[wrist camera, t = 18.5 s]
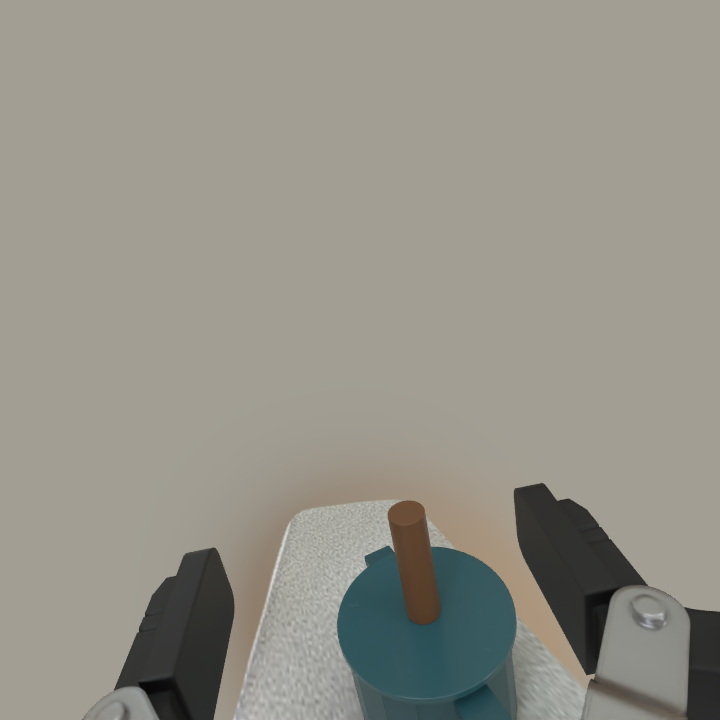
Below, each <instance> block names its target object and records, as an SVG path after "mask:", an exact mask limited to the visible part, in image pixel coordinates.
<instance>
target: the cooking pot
mask: <svg viewBox="0 0 720 720" xmlns="http://www.w3.org/2000/svg"><path fill="white" fill-rule="evenodd" d="M392 553H394V552H393V550H392V549H391V548H390V546H386V547H384V548H382V549H380V550H378V551H375V552H373V553H371V554H369V555H366V556H365V562H366V565H367V567H369V566H370V565H372V564H373V563H375V562H376V561H378V560H379V559H381V558H383V557H385V556H387V555H390V554H392ZM351 671H352V669H351ZM352 674H353V678H354V682H355V686H356V689H357V693H358V697H359V701H360V704H361V708H362V712H363V716H364V720H516V712H517V702H516V692H515V682H514V672H513V662H512V651H511V653H510V655H509V657H508V659H507V660H506V662H505V664H504V666H503V667H502V668H501V669H500V671H499V672H498V673H497V674H496V675H495V676H494V677H493V678H492V679H491V680H490V681H489V682H488V683H487V684H485V685H484V686H482V687H481V688H479V689H478V690H477V691H475V692H473V693H471V694H469V695H467V696H465V697H462V698H459V699H456V700H453V701H450V702H444V703H439V704H425V705H422V704H410V703H405V702H401V701H396V700H394V699H391V698H388V697H386V696H383V695H382V694H380V693H378V692H376V691H374V690H373V689H371V688H370V687H369V686H367V685H366V684H364V683H363V682H362V681H361V680H360V679H359V678H358V677H357V676H356V675H355V674H354V672H353V671H352Z"/></svg>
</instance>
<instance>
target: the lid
mask: <svg viewBox="0 0 720 720" xmlns="http://www.w3.org/2000/svg"><path fill="white" fill-rule="evenodd" d="M388 520H389V525H390V530H391V535H392V540H393V545H394V551H395V553H392V554H390V555H387V556H385V557H383V558H381V559H379V560H378V561H376V562H375V563H373V564H372V565H370V566H369V567H368V568H366V569H365V570H364V571H363V572H362V573H361V574H360V575H359V576H358V577H357V578H356V579H355V580H354V581H353V583H352V584H351V585H350V587H349V588H348V590H347V592H346V593H345V595H344V598H343V600H342V602H341V605H340V609H339V613H338V620H337V633H338V638H339V643H340V647H341V650H342V653H343V656H344V658H345V660H346V662H347V663H348V665H349V667H350V668H351V669H352V671H353V672H354V674H355V675H356V676H357V677H358V678H359V679H360V680H361V681H362V682H363V683H364V684H366V685H367V686H369V687H370V688H371V689H373V690H374V691H376V692H378V693H380V694H382V695H383V696H386V697H388V698H391V699H394V700H396V701H401V702H405V703H410V704H422V705H425V704H439V703H444V702H450V701H453V700H456V699H459V698H462V697H465V696H467V695H469V694H471V693H473V692H475V691H477V690H478V689H479V688H481V687H482V686H484V685H485V684H487V683H488V682H489V681H490V680H491V679H492V678H493V677H494V676H495V675H496V674H497V673H498V672H499V671H500V669H501V668H502V667H503V666H504V664H505V662H506V660H507V659H508V657H509V655H510V653H511V650H512V648H513V645H514V641H515V636H516V614H515V607H514V603H513V600H512V597H511V595H510V593H509V590H508V589H507V587H506V585H505V584H504V582H503V581H502V580H501V579H500V577H499V576H498V575H497V574H496V573H495V572H494V571H493V570H492V569H491V568H490V567H489V566H487V565H486V564H484V563H483V562H482V561H480V560H478V559H477V558H475V557H473V556H471V555H468V554H466V553H464V552H460V551H457V550H454V549H449V548H443V547H431V546H430V540H429V534H428V528H427V521H426V515H425V510H424V507H423V506H422V505H421V504H420V503H418V502H415V501H402V502H399V503H396V504H395V505H393V506H392V507H391V508H390V509H389V511H388Z"/></svg>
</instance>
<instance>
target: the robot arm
mask: <svg viewBox="0 0 720 720" xmlns="http://www.w3.org/2000/svg"><path fill="white" fill-rule="evenodd" d="M514 503H515V515H516V525H517V526H516V527H517V536H518V542H519V546H520V549H521V552H522V555H523V557H524V559H525V561H526V563H527V565H528V567H529V569H530V570H531V572H532V574H533V576H534V578H535V580H536V582H537V584H538V585H539V587H540V589H541V591H542V593H543V595H544V596H545V599H546V600H547V602H548V604H549V606H550V608H551V610H552V612H553V613H554V615H555V617H556V619H557V621H558V622H559V625H560V626H561V628H562V630H563V632H564V634H565V636H566V638H567V639H568V641H569V643H570V645H571V647H572V649H573V651H574V653H575V654H576V656H577V658H578V660H579V662H580V664H581V666H582V668H583V669H584V671H585V673H586V675H590V674H595V673H596V674H595V678H594V680H593V679H591V680H590V682H589V685H588V688H587V693H586V697H585V702H584V707H583V712H582V716H581V720H720V612H716V611H704V610H695V609H690V608H686V607H683V606H682V605H681V604H680V603H679V602H678V601H677V600H676V599H675V598H673V597H672V596H671V595H669V594H667V593H666V592H664V591H661V590H659V589H656V588H653V587H649V586H648V585H647V584H646V583H645V581H644V580H643V579H642V578H641V576H640V575H639V574H638V573H637V571H636V570H635V569H634V568H633V566H632V565H631V564H630V563H629V561H627V559H626V558H625V556H624V555H623V554H622V553H621V552H620V550H619V549H618V548H617V547H616V545H615V544H614V543H613V542H612V540H611V539H609V538H608V536H607V534H606V533H605V532H604V530H603V529H602V528H601V527H599V524H598V523H597V522H596V520H595V519H594V518H593V517H592V516H591V514H590V513H589V512H588V510H587V509H585V508H583V507H582V506H580V505H579V504H577V503H575V502H574V501H572V500H570V499H564V500H560V501H557V500H556V499H555V498H554V496H553V495H552V493H551V492H550V491H549V489H548V488H547V487H546V485H545V484H543V483H540V484H536V485H530V486H525V487H521V488H515V490H514ZM233 618H234V598H233V593H232V589H231V586H230V583H229V581H228V578H227V575H226V572H225V570H224V567H223V564H222V561H221V558H220V555H219V553H218V551H217V550H216V548H210V549H205V550H200V551H195V552H190V553H186V554H185V555H184V557H183V559H182V562H181V564H180V567H179V570H178V573H177V575H176V576H174V577H169V578H166V579H165V581H164V582H163V583H162V584H161V585H160V587H159V588H158V589H157V590H156V592H155V593H154V594H153V595H152V597H151V600H150V602H149V605H148V607H147V610H146V612H145V617H144V618H143V620H142V622H141V625H140V627H139V633H137V635H136V637H135V639H134V642H133V645H132V647H131V649H130V652H129V654H128V657H127V659H126V662H125V664H124V667H123V669H122V672H121V674H120V676H119V679H118V682H117V684H116V686H115V689H114V691H113V692H111V693H109V694H108V695H106V696H104V697H103V698H102V699H100V700H99V701H98V702H97V703H96V704H95V705H94V706H93V707H92V708H91V709H90V710H89V711H88V712H87V714H86V715H85V716H84V718H83V719H82V720H213V719H214V714H215V708H216V704H217V698H218V693H219V688H220V683H221V678H222V673H223V668H224V663H225V658H226V653H227V648H228V643H229V638H230V633H231V628H232V623H233Z"/></svg>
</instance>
